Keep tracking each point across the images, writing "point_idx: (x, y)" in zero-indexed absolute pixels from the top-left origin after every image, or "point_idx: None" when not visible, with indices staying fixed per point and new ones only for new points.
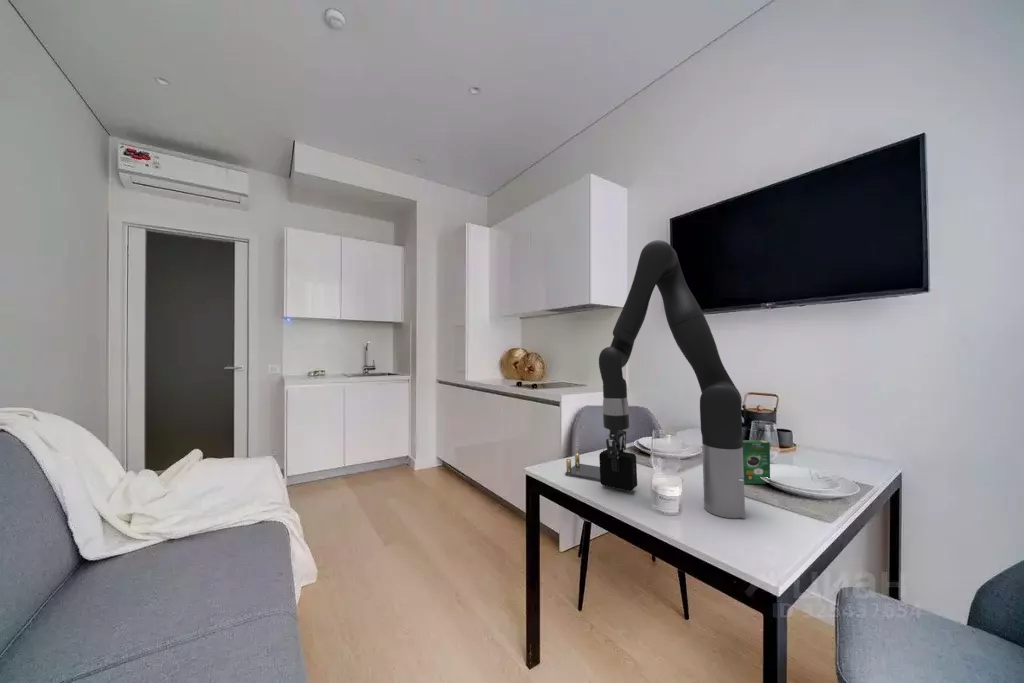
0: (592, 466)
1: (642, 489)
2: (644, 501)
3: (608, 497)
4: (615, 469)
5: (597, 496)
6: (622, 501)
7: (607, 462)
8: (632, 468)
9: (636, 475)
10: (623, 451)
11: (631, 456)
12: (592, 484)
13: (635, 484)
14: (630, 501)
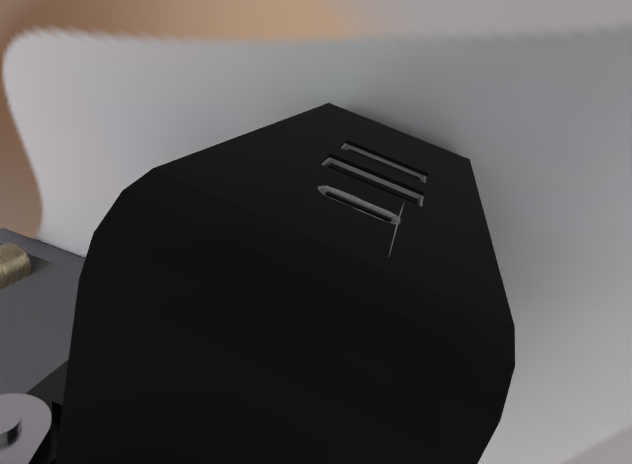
0: None
1: (290, 47)
2: (606, 36)
3: (532, 351)
4: None
5: (519, 424)
6: (618, 249)
7: None
8: (462, 225)
9: (315, 120)
10: (14, 458)
11: (361, 351)
12: None
13: (381, 126)
14: (614, 178)
